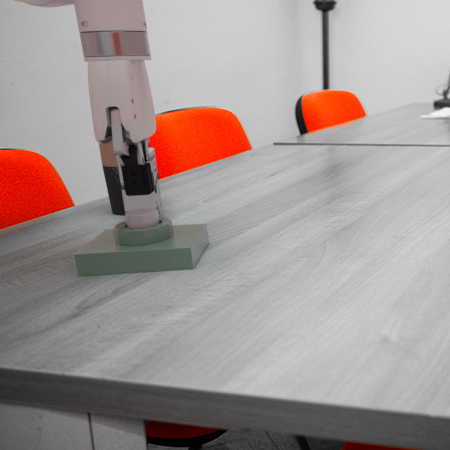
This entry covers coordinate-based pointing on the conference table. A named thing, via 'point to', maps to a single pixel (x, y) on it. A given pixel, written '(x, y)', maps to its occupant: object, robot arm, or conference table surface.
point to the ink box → (143, 200)
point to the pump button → (142, 218)
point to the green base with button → (143, 249)
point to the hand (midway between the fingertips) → (140, 193)
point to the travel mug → (112, 178)
